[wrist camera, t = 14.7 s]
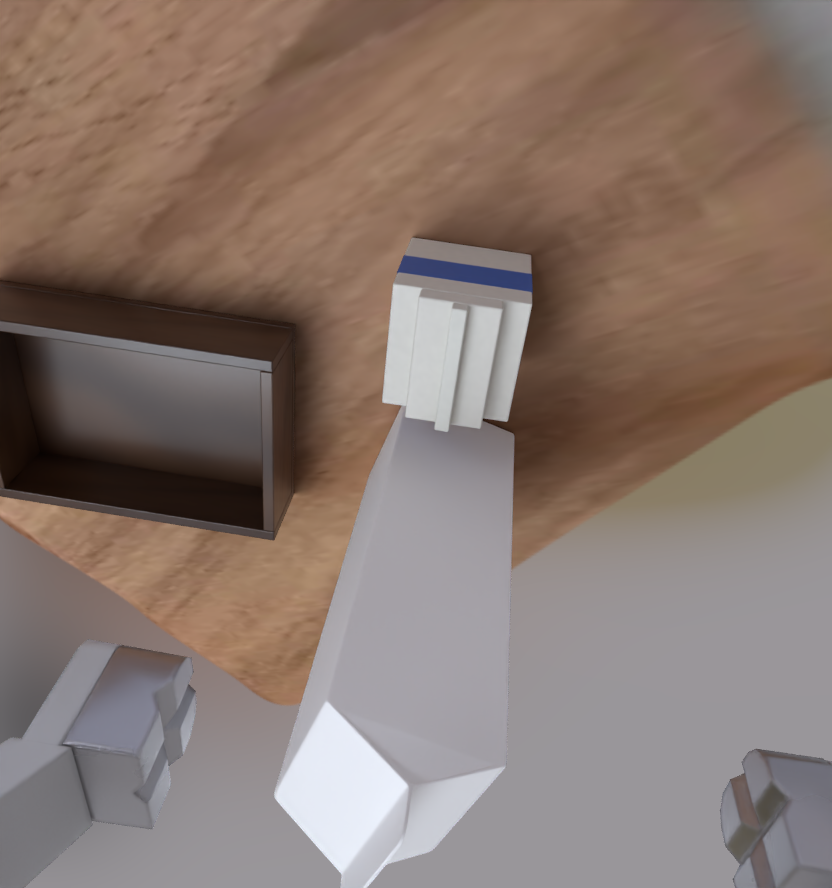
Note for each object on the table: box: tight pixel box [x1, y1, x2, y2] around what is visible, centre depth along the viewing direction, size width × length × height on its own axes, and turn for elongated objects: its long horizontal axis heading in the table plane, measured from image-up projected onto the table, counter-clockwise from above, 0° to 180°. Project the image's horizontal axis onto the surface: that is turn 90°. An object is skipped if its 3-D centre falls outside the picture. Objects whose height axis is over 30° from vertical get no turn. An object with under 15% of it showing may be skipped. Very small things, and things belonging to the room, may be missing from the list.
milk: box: [274, 406, 514, 888], centre depth 30 cm, size 6×6×22 cm
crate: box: [0, 281, 295, 540], centre depth 38 cm, size 11×15×4 cm
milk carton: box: [382, 238, 533, 432], centre depth 31 cm, size 5×5×7 cm
